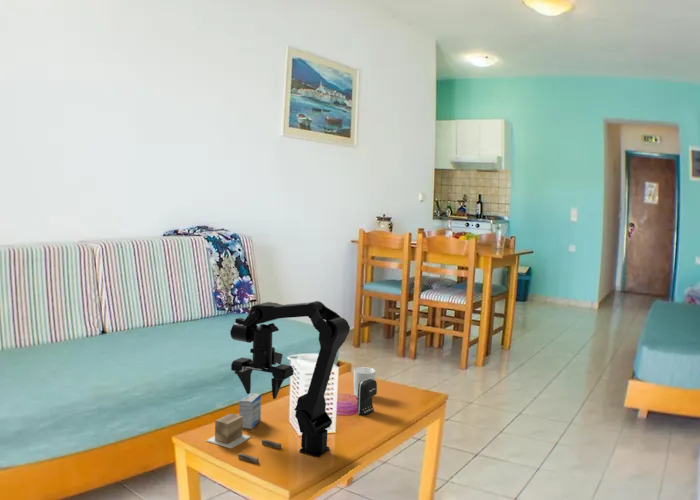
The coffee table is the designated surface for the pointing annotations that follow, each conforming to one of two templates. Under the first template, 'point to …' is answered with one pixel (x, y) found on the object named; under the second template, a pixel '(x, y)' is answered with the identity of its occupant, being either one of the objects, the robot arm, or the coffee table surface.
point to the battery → (366, 396)
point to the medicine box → (250, 410)
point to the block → (228, 428)
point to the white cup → (362, 376)
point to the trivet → (230, 445)
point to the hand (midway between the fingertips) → (261, 396)
